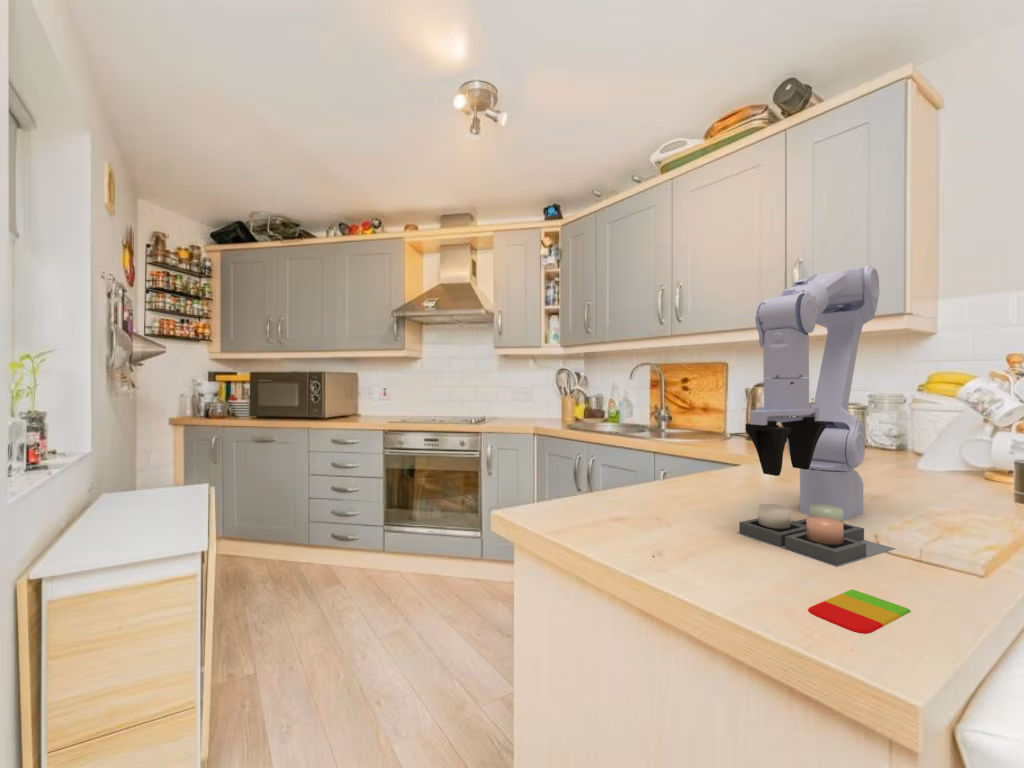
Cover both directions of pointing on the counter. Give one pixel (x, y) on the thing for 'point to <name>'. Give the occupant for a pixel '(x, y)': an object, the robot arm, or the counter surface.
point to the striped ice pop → (858, 611)
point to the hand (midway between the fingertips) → (786, 471)
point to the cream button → (774, 516)
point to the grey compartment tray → (800, 544)
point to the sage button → (826, 511)
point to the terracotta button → (824, 530)
